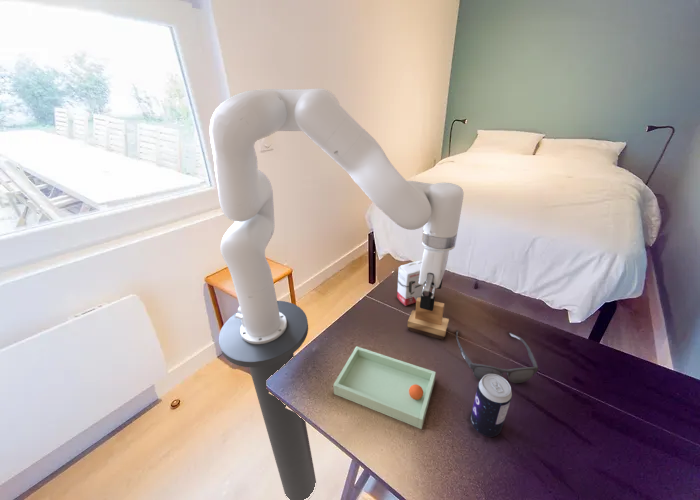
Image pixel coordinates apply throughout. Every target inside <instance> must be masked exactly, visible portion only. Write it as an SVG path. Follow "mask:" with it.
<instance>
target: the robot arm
mask: <svg viewBox="0 0 700 500" xmlns="http://www.w3.org/2000/svg"><path fill="white" fill-rule="evenodd" d="M276 132H302V133H303V134H304V135H305V136H307V137H308V138H309V139H310V140H311V142H313V143H314V144H315V145H316V146H317V147H319V149H321V150H322V151H323V152H324V153H325V154H327V155H328V156H329V158H331V160H333V161H334V162H335V163H336V164H337V165H338V166H339V167H340V168H342V170H343V171H345V172H346V173H347V174H348V175H349V176H350V177H351V180H352V181H353V182H354V183H355V184H356V185H357V186H358V188H360V189H361V191H362V192H363V193H364V194H365V196H367V197H368V198H369V200H370V201H371V202H372V203H373V205H375V206H376V207H377V208H378V209H379V210H380V211H381V212H382V213H383V214H384V215H386V216H387V218H389V219H390V220H391V221H392V222H394V223H395V224H396V225H397V226H398V227H401V228H402V229H405V230H410V231H414V230H415V231H416V230H418V229H421V228H423V229H422V236H421V238H422V239H421V244H422V246H423V247H424V249H423V253H422V258H421V260H422V263H421V269H420V276H419V282H418V283H419V284H420V285H423V284H424V286H423V291H422V294H421V301H420V308H422V309H426V310H430V311H433V308H434V301H435V300H436V296H435V293H436V290H437V289H438V290H441V289H442V285H443V279H444V275H445V272H446V269H447V264H448V261H449V254H450V251H452V250H453V249H455V247H456V244H457V237H458V232H459V225H460V220H461V214H462V208H463V203H464V195H465V192H464V190H463V188H462V186H461V185H458V184H455V183H452V182H451V183H450V182H437V183H428V182H421V181H416V180H407V179H406V178H404V176H403V175H402V174H401V173H400V172H399V170H397V168H395V166H394V164H392V162H391V161H390V160H389V157H388V156H387V154H386V153H385V150H383V148H382V147H381V145H380V144H379V142H377V140H376V139H375V138H374V137H373V136H372V135H371V134H370V133H369V132H368V131H367V130H366V129H365V128H364V127H362V126H361V125H360V124H359V122H358V121H357V120H355V119H354V117H352V116H351V115H350V114H349V113H348V111H347V110H346V109H345V108H344V107H343V106H341V104H340V102H339V99H338V97H336V95H335V94H334V93H333V92H332V91H330V90H328V89H326V88H320V87H318V88H317V87H316V88H300V89H299V88H292V89H291V88H284V89H283V88H263V89H251V90H246V91H242V92H239V93H236V94H234V95H232V96H230V97H228V98H227V99H225V100H223V102H221V103H220V104H219V105H218V106H217V107H216V108H215V110H214V111H213V114H212V116H211V118H210V123H209V137H210V144H211V150H212V155H213V163H214V172H215V180H216V187H217V195H218V201H219V207H220V209H221V212H222V213H223V215H224V217H226V218H227V219H228V220H230V221H233V223H232V224H231V225H230V227H229V228H228V229H227V230H226V232H225V233H224V234H223V237H222V238H221V241H220V254H221V256H222V259H223V261H224V262H225V264H226V267H227V269H228V272H229V273H230V276H231V281H232V284H233V288H234V290H235V294H236V298H237V302H238V305H239V306H238V307H237V312H240V313H242V314H239V313H237V312H236V313H237V314H236V315H235V317H236V318H238V319H241V321H242V325H241V328H240V333H241V336H242V338H243V339H244V340H245V341H246V342H248V343H252V344H264V343H268V342H271V341H273V340H275V339H277V338H278V337H279V336H281V335H282V334H283V333H284V331H285V329H286V327H287V320H286V317H285V316H284V315H283V314H282V313H280V312H279V309H278V304H277V301H278V299H277V294H276V289H275V283H274V279H273V274H272V269H271V266H270V264H269V261H268V259H267V257H266V249H267V246H268V245H269V244H270V241H271V240H272V237H273V235H274V233H275V206H274V191H273V186H272V183H271V180H270V179H269V177H268V175H266V173H264V171H261V170H260V169H258V156H257V152H256V149H255V144H256V142H257V141H259V140H262V139H265V138H267V137H270V136H271V135H273V134H275V133H276ZM431 289H432V291H431Z"/></svg>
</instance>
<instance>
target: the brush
mask: <svg viewBox="0 0 700 500" xmlns="http://www.w3.org/2000/svg"><path fill="white" fill-rule="evenodd" d="M420 301H421V298H419V297H418V298H417V300H416V303H415V310H414V309H412V311H411V313H410V316H409V317H408V320H407V324H406V325H407V328H408V331H410V332H413V333H416V334H420V335H423V336H427V337H431V338H435V339H439V340H442V341H444V339H445V337H446V334H447V332H448V328H449V322H450V319H449V318H446V317H444V313H445V312H444V311H445V303H443V302H439V301H434V308H433V311H430V310H426V309H422V308H420Z"/></svg>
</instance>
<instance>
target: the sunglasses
mask: <svg viewBox="0 0 700 500" xmlns="http://www.w3.org/2000/svg"><path fill="white" fill-rule="evenodd" d="M458 334H459V330H456V332H455V339H456V342H457V346H458V349H459V351H460V352H459V353H460V355H461V357H462V358H463V359H464V361H465V362H466V364H467V366H468V367H469V369H471V372H472V373H473V376H474V378H475V379H477V380H479V381H480V380H481V379H482V378H483V377H484V376H485V375H487V374H496V375H499V376H501V377H503V375H504V373H506V376H507V379H508V381H509V382H510V383H512V384H522V383H526V382H527V381H529V380H530V379H532V378H533V376H534V375H535V374H536V373H537V372H538V370H539V366H538V363H537V361H536V358H535V356H534V353H533V352H532V351H533V350H532V349H531V347H530V346H529V344H528V343H527V341H526V340H524V339H523V338H522V337H520V336H519V335H517V334H514V333H513V332H508V334H509V335H510V336H511V338H514V339H517V340H519V341H520V342H521V343H523V345H524V347H525V348H526V351H527V353H528V357H529V360H530V361H531V363H532V366H527V367H524V366H523V367H515V368H500V367H496V366H493V365H487V364H481V363H475V362H474V363H473V362H472V360H471V359H470V358H469V356H468V355H467V353H466V352H465V351H464V348H463V347H462V344H461V343H460V340H459V338H458V337H459V336H458Z"/></svg>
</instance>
